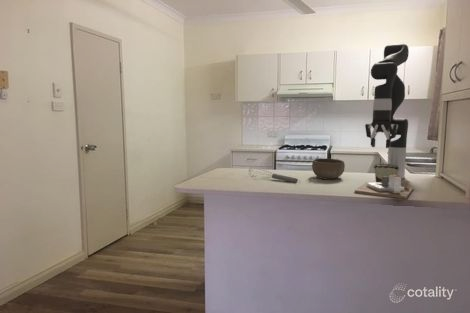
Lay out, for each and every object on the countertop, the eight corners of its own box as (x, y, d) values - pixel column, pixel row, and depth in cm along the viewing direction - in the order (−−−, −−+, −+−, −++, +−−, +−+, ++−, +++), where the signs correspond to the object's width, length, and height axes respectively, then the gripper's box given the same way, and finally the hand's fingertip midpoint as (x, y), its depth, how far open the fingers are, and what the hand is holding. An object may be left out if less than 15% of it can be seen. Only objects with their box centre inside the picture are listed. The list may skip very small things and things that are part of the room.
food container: (399, 183, 187) (400, 164, 186) (398, 185, 182) (399, 166, 181) (374, 181, 193) (375, 162, 192) (372, 183, 188) (373, 164, 187)
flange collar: (366, 186, 174) (367, 170, 173) (389, 185, 176) (390, 169, 175) (384, 193, 158) (385, 176, 157) (409, 193, 160) (410, 175, 159)
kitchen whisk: (297, 184, 186) (297, 172, 185) (245, 177, 207) (245, 166, 206) (303, 182, 190) (303, 171, 190) (252, 176, 212) (252, 165, 211)
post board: (366, 184, 184) (366, 171, 184) (413, 189, 172) (414, 175, 172) (354, 192, 166) (355, 178, 165) (406, 199, 154) (407, 183, 153)
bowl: (347, 180, 195) (348, 162, 194) (315, 180, 195) (315, 162, 194) (339, 174, 212) (340, 158, 211) (309, 174, 212) (309, 158, 211)
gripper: (402, 109, 156) (399, 147, 158) (369, 109, 166) (367, 145, 168) (396, 109, 151) (394, 149, 153) (362, 109, 160) (361, 147, 162)
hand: (380, 147), depth 160 cm, fingers open, 5 cm apart
